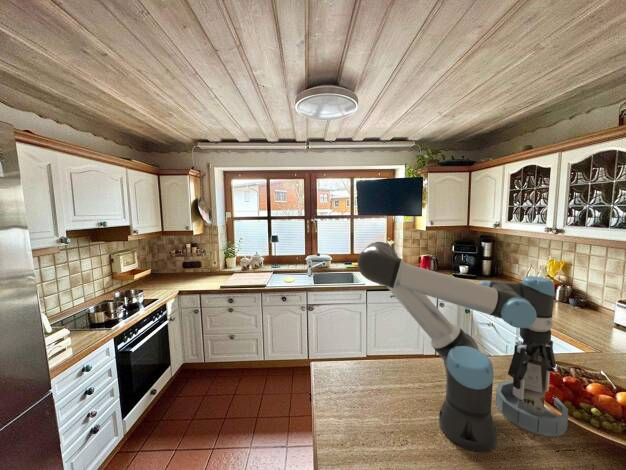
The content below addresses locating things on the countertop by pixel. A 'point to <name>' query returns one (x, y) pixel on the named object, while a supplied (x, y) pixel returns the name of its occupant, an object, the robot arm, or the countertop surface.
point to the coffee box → (534, 386)
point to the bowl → (529, 421)
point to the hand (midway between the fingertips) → (530, 392)
